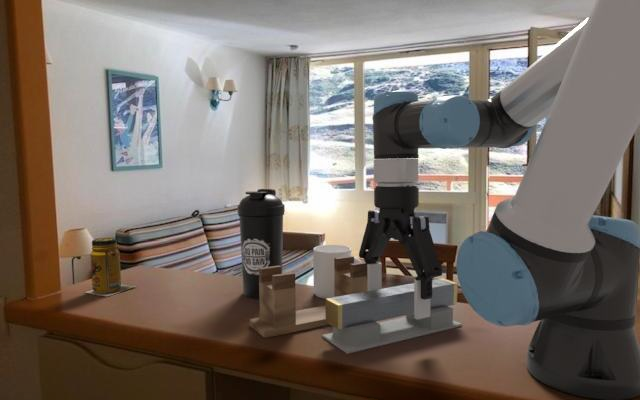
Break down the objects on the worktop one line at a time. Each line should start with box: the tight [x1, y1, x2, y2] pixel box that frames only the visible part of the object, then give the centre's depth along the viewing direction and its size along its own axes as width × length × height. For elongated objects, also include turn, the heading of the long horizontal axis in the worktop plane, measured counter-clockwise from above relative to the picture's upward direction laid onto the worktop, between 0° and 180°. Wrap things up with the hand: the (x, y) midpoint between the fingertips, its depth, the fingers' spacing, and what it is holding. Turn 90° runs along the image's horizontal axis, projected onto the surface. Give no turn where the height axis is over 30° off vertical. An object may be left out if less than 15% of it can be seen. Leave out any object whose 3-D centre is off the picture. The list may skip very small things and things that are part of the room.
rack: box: [249, 255, 368, 339], centre depth 95 cm, size 7×24×10 cm, turn 119°
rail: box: [324, 277, 458, 330], centre depth 89 cm, size 26×4×4 cm, turn 119°
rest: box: [321, 306, 463, 355], centre depth 90 cm, size 8×24×3 cm, turn 119°
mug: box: [312, 244, 362, 300], centre depth 111 cm, size 12×8×10 cm
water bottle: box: [237, 188, 286, 300], centre depth 112 cm, size 10×10×23 cm
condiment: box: [84, 237, 137, 297], centre depth 116 cm, size 7×8×12 cm
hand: (397, 307), depth 88 cm, fingers open, 13 cm apart
